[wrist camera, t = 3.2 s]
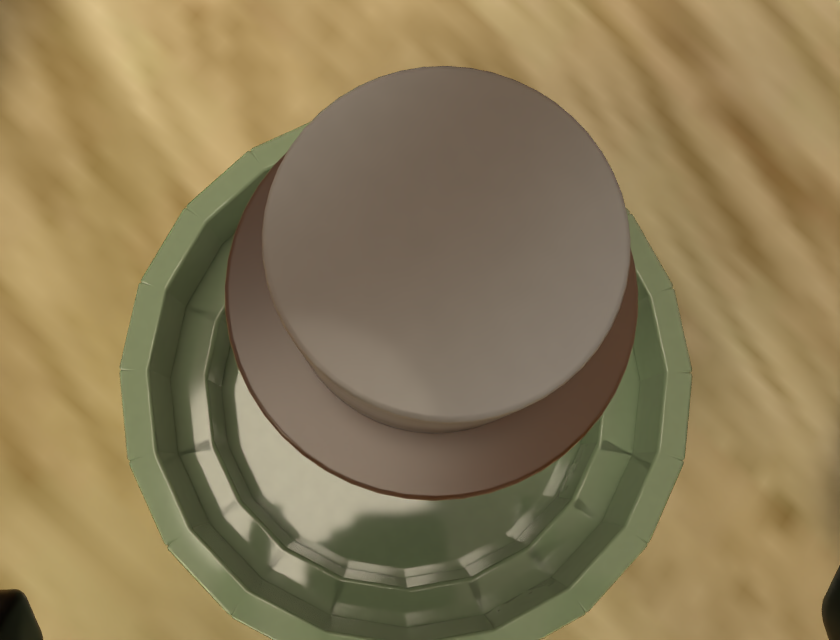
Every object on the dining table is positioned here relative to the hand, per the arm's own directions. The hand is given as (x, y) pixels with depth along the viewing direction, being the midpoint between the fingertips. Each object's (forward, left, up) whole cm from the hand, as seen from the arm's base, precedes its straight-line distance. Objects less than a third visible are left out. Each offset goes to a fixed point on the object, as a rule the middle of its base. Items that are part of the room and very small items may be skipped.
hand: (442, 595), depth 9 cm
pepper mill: (+2, -2, -10) cm, 11 cm away
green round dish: (+2, -2, -11) cm, 11 cm away
